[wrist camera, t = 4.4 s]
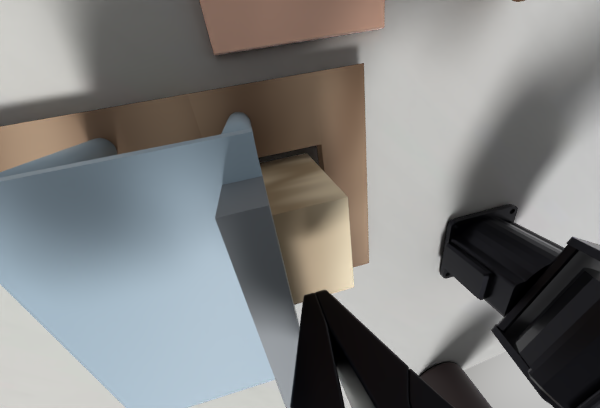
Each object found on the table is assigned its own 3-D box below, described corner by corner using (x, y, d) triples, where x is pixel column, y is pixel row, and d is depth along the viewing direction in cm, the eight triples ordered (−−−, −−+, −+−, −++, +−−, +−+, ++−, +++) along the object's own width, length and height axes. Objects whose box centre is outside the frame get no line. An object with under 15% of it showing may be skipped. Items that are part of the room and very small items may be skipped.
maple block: (306, 152, 16) (347, 197, 9) (316, 218, 18) (354, 287, 12) (229, 169, 15) (220, 227, 9) (249, 234, 17) (253, 316, 11)
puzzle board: (354, 65, 14) (363, 63, 13) (362, 253, 20) (369, 262, 19) (-38, 133, 12) (-66, 138, 11) (112, 321, 18) (104, 336, 17)
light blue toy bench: (247, 109, 13) (254, 148, 5) (287, 274, 18) (320, 417, 10) (83, 140, 12) (-238, 250, 4) (176, 304, 17) (121, 486, 9)
